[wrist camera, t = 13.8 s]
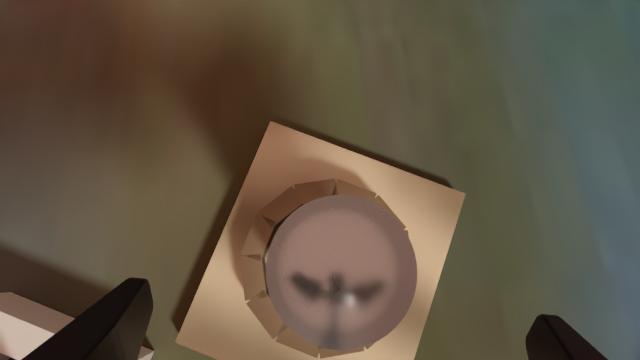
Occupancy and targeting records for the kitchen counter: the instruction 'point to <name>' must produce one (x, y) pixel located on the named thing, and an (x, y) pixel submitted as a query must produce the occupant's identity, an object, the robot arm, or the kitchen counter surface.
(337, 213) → the billet
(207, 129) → the kitchen counter surface
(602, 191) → the kitchen counter surface
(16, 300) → the square ring frame
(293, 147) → the board
